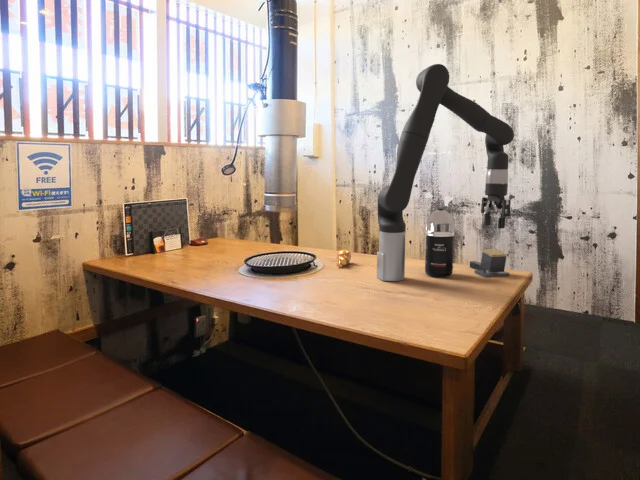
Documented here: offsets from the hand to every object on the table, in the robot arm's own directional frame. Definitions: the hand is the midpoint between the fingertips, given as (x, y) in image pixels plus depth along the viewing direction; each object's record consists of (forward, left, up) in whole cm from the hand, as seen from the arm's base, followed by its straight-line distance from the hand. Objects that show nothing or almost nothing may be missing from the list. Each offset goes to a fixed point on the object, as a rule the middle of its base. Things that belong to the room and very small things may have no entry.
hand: (494, 226), depth 163 cm
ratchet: (0, +5, -18) cm, 19 cm away
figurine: (-49, +29, -18) cm, 60 cm away
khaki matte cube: (0, 0, -16) cm, 16 cm away
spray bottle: (-19, +4, -18) cm, 27 cm away
